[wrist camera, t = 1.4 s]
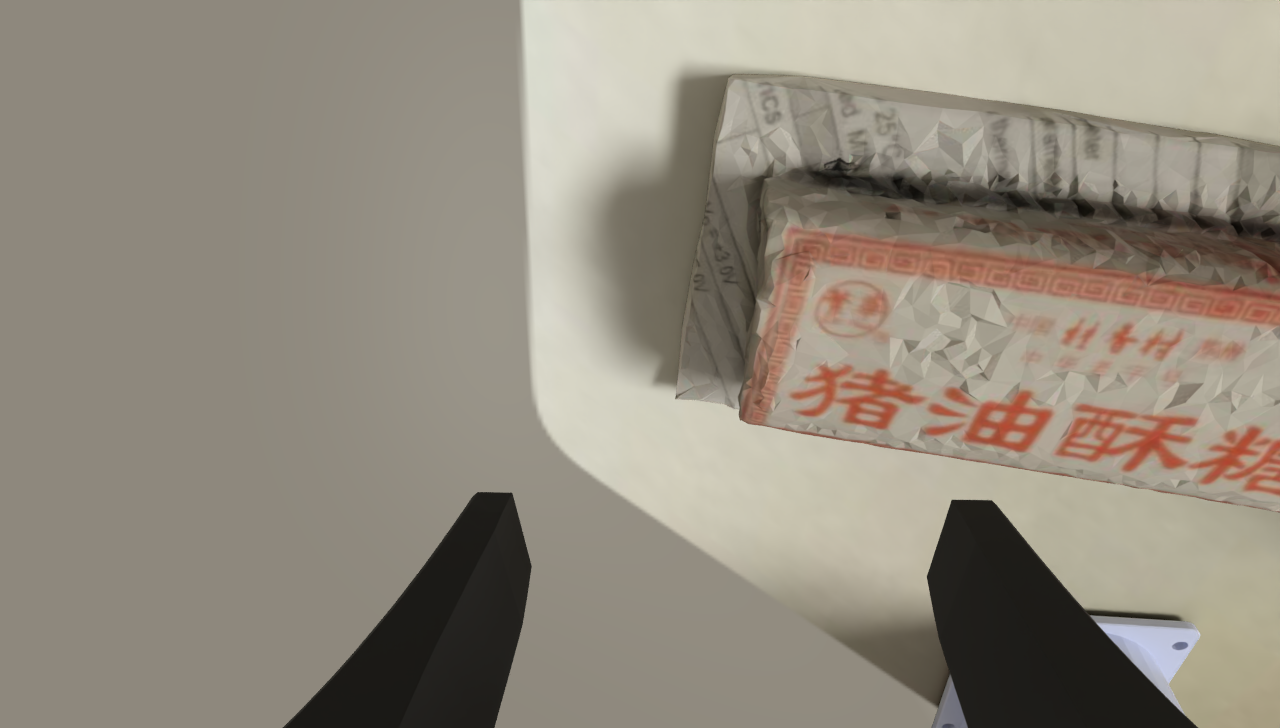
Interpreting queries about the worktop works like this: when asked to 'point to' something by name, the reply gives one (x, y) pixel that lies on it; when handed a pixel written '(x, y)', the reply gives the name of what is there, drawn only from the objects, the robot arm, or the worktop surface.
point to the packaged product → (992, 285)
